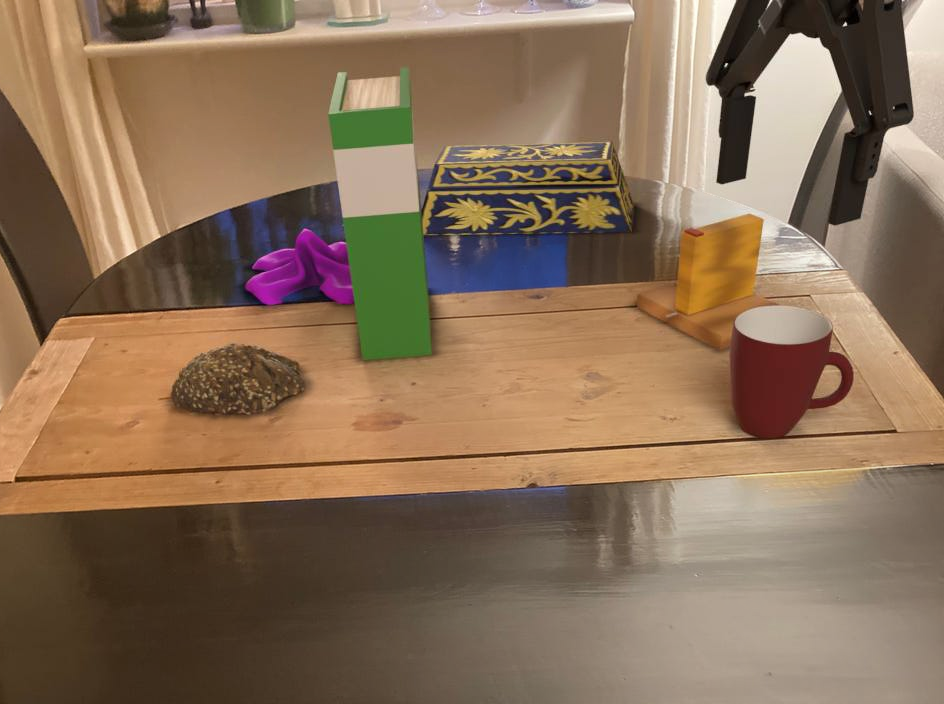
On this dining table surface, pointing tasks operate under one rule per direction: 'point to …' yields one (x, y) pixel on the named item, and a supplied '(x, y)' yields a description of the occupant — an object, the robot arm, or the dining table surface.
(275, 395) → the bread roll
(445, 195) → the decorative box
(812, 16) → the robot arm
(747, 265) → the bar
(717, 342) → the board
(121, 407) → the dining table surface
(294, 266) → the cloth
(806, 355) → the mug
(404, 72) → the hardback book
